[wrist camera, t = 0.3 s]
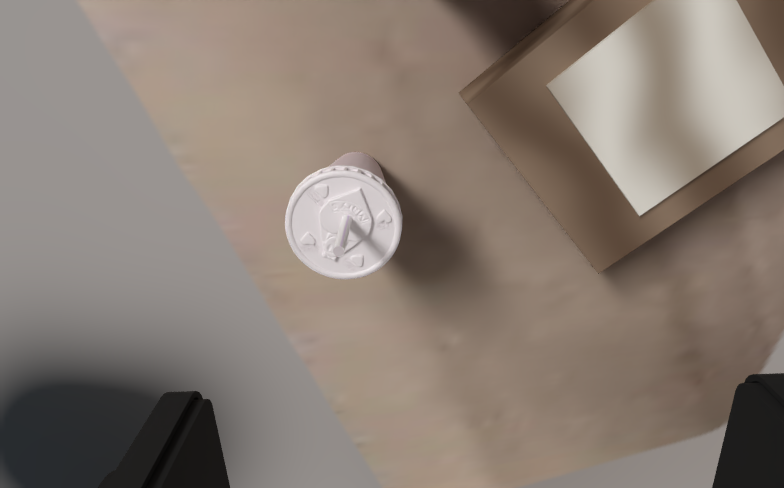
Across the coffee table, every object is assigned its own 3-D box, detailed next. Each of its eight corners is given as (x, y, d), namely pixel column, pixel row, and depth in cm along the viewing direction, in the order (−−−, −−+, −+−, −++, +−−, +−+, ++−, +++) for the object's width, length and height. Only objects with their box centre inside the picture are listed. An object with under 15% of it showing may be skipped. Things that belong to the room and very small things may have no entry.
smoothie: (417, 155, 38) (426, 229, 25) (379, 234, 40) (370, 339, 27) (330, 116, 37) (293, 172, 24) (297, 199, 39) (246, 291, 26)
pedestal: (709, -116, 31) (768, -141, 26) (812, 79, 35) (881, 89, 30) (458, 92, 36) (468, 105, 31) (575, 243, 40) (600, 276, 35)
